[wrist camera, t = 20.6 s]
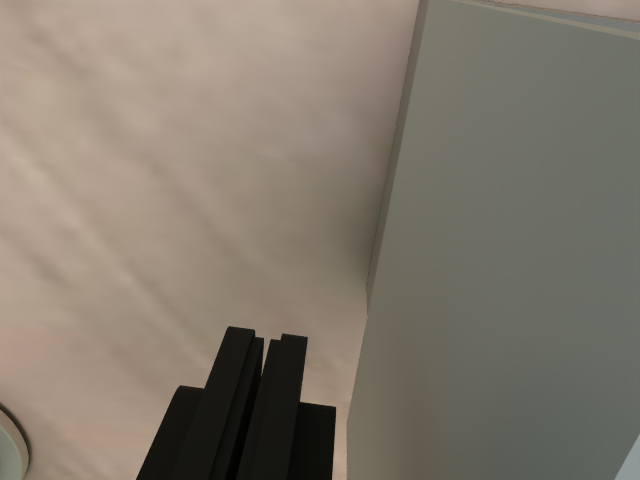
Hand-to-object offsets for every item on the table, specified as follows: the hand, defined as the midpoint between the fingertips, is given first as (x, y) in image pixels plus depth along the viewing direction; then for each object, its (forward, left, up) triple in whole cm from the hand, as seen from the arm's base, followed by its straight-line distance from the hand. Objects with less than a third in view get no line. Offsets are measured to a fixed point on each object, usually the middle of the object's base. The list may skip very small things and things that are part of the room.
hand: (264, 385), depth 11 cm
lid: (0, -4, -7) cm, 8 cm away
